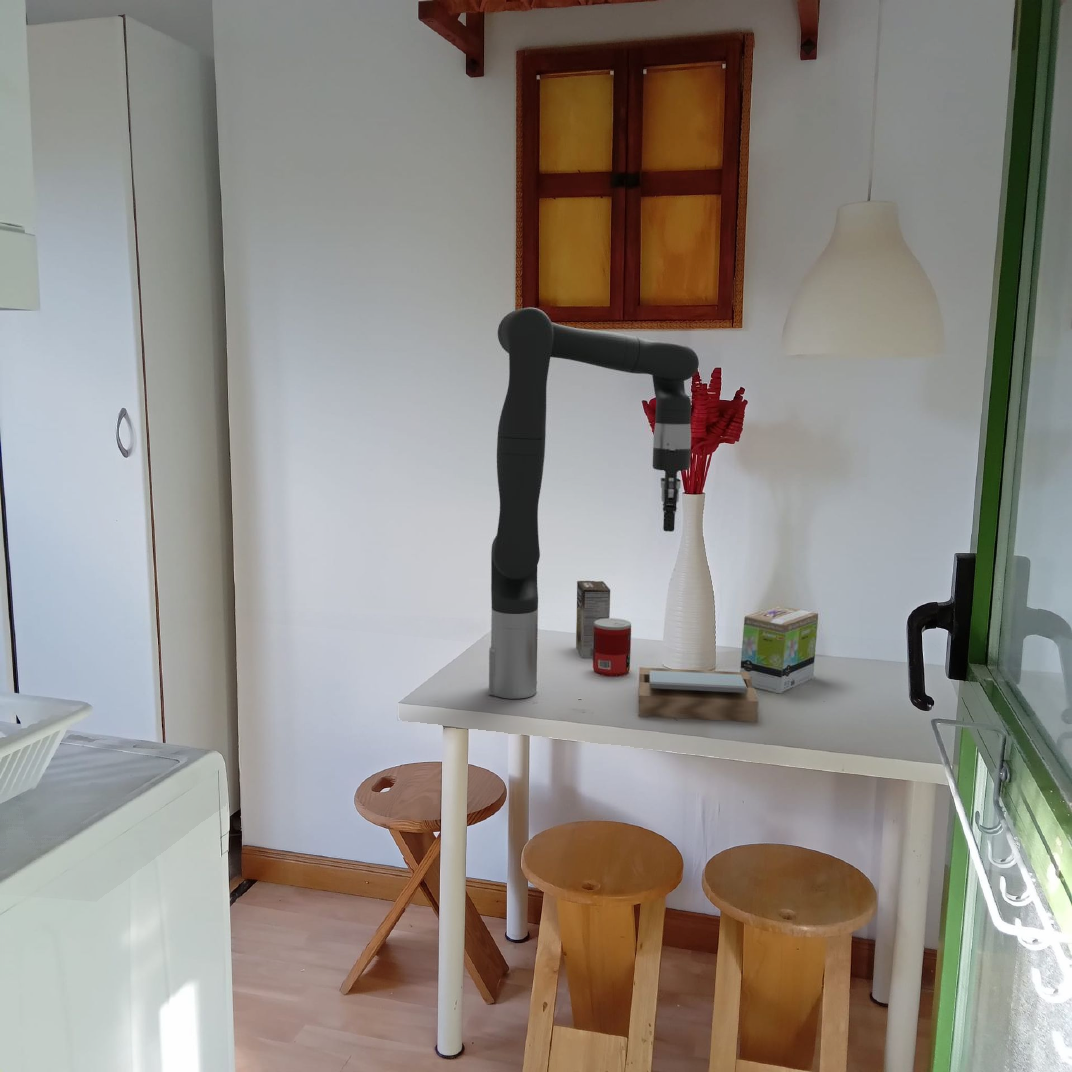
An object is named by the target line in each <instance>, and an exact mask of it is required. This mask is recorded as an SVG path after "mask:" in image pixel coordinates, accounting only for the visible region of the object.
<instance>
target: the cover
mask: <svg viewBox="0 0 1072 1072" xmlns="http://www.w3.org/2000/svg"><path fill="white" fill-rule="evenodd" d="M649 678H650V688H660V689H680V690H700V691H720V692H740V693H747V687H746V684H745V682H744V680H743V678H742V676H741V675H735V674H714V673H693V672H672V671H651V670H650V671H649Z"/></svg>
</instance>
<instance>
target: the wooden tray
mask: <svg viewBox="0 0 1072 1072" xmlns="http://www.w3.org/2000/svg"><path fill="white" fill-rule="evenodd" d="M650 670H651V671H672V672H693V673H714V674H735V675H741V676H742V678H743V680H744V682H745V684H746V687H747V693H740V692H720V691H700V690H680V689H660V688H650V678H649V671H650ZM638 672H639V673H638V704H637V705H638V707H637V709H638V710H637V716H638V717H653V718H654V717H657V718H658V717H659V718H671V719H672V718H674V719H676V718H677V719H693V720H695V719H696V720H709V721H710V720H712V721H713V720H714V721H715V720H716V721H728V722H729V721H730V722H731V721H732V722H750V723H757V722H758V713H759V712H758V710H759V709H758V708H759V699H758V697H757V693H756V691H755V689H754V688H755V687H753V685H752V682H751V679H750V676H749V673H747V672H740V671H721V670H705V669H704V670H703V669H702V670H701V669H699V670H698V669H684V668H683V669H680V668H679V669H678V668H659V667H658V668H657V667H639V671H638Z"/></svg>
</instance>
